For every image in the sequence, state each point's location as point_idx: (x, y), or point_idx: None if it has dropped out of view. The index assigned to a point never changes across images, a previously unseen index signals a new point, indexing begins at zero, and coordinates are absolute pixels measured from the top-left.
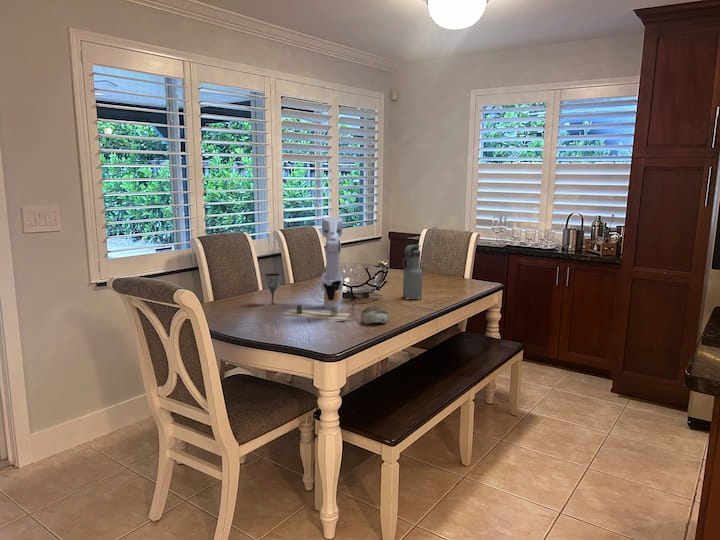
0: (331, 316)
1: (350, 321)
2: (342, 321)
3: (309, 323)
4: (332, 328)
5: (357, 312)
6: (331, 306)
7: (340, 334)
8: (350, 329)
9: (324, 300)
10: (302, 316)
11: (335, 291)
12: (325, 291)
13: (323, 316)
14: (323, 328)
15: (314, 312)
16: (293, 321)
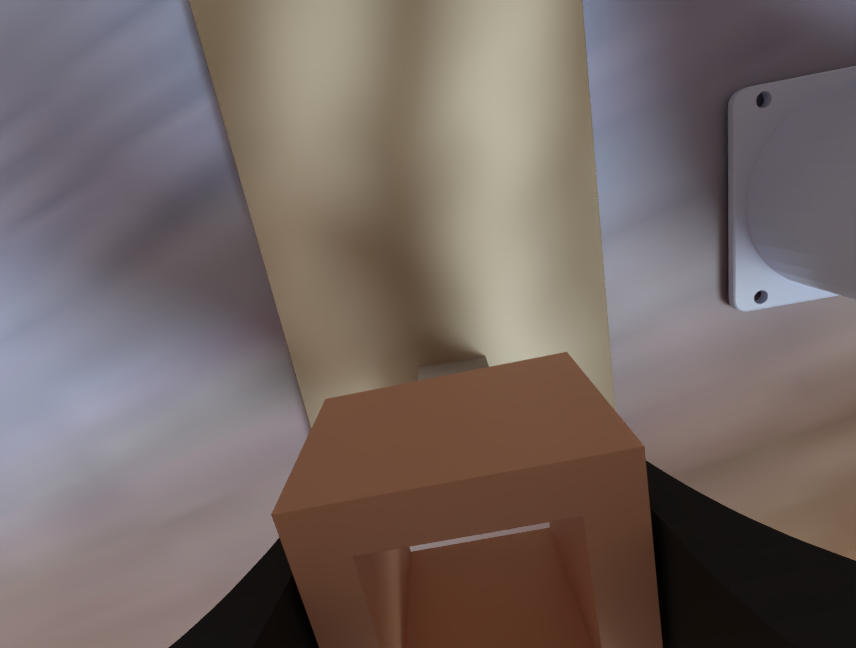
0: (412, 381)
1: (418, 549)
2: None
3: (134, 237)
4: (118, 507)
5: (782, 486)
6: (785, 234)
7: (9, 620)
8: (183, 632)
9: (325, 403)
10: (232, 53)
11: (591, 631)
12: (346, 512)
13: (368, 303)
14: (66, 442)
15: (504, 102)
16: (91, 5)
